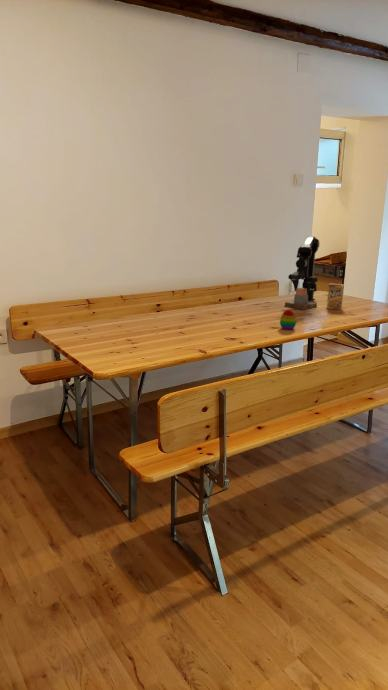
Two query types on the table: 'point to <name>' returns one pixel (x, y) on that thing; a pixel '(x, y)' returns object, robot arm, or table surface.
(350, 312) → the table surface
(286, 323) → the decorative egg
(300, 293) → the terracotta cube
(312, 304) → the walnut plinth
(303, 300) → the grey block
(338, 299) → the candy box
